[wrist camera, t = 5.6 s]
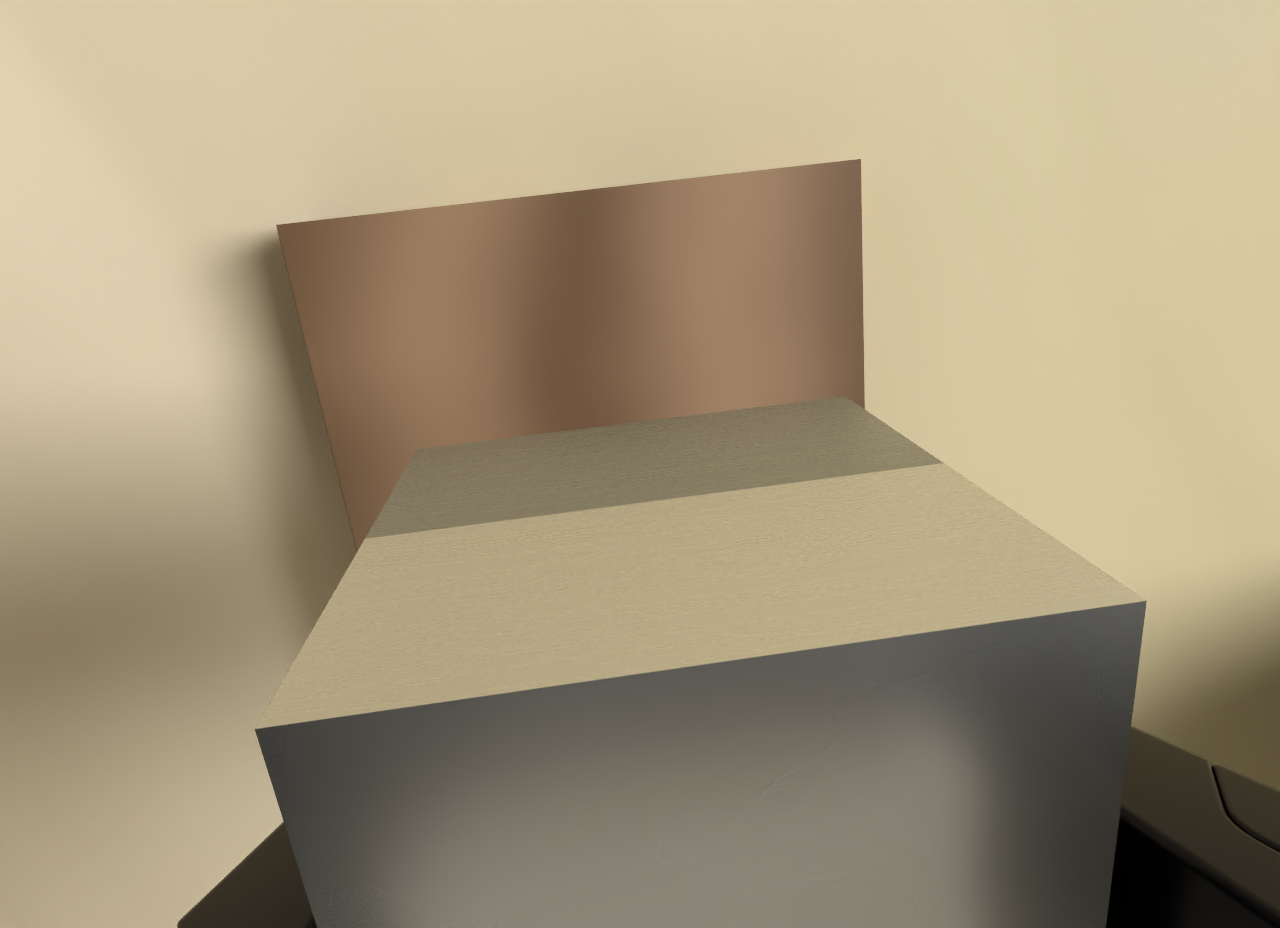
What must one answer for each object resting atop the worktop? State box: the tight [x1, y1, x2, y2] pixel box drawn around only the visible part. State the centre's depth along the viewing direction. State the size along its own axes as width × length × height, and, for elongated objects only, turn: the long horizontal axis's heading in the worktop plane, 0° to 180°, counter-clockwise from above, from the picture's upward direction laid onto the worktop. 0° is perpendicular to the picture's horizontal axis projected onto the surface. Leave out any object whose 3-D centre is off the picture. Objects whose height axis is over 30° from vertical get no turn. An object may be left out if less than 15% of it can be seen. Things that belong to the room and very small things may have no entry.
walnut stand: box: [276, 159, 865, 552], centre depth 19 cm, size 12×12×2 cm
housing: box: [255, 396, 1146, 928], centre depth 8 cm, size 5×6×5 cm
